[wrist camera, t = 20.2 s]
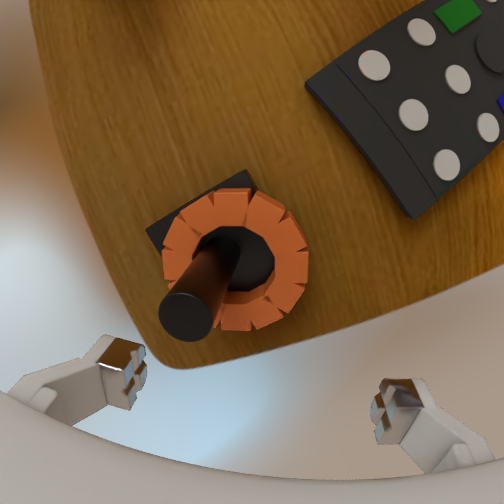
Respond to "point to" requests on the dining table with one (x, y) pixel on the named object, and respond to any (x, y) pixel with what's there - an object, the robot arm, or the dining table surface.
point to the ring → (260, 222)
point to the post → (212, 270)
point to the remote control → (422, 96)
